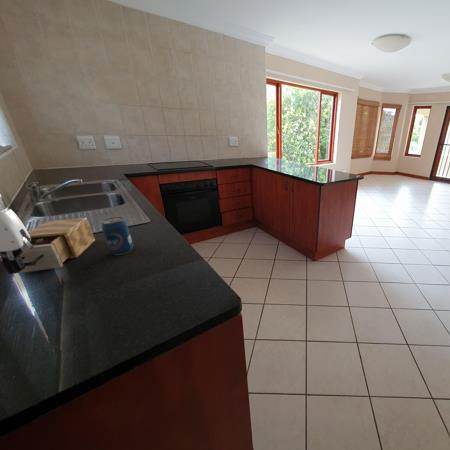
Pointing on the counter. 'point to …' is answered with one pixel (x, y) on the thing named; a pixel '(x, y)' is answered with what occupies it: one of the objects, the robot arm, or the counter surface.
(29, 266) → the drawer
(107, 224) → the soda can
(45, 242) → the mangosteen
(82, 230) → the cabinet
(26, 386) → the counter surface
